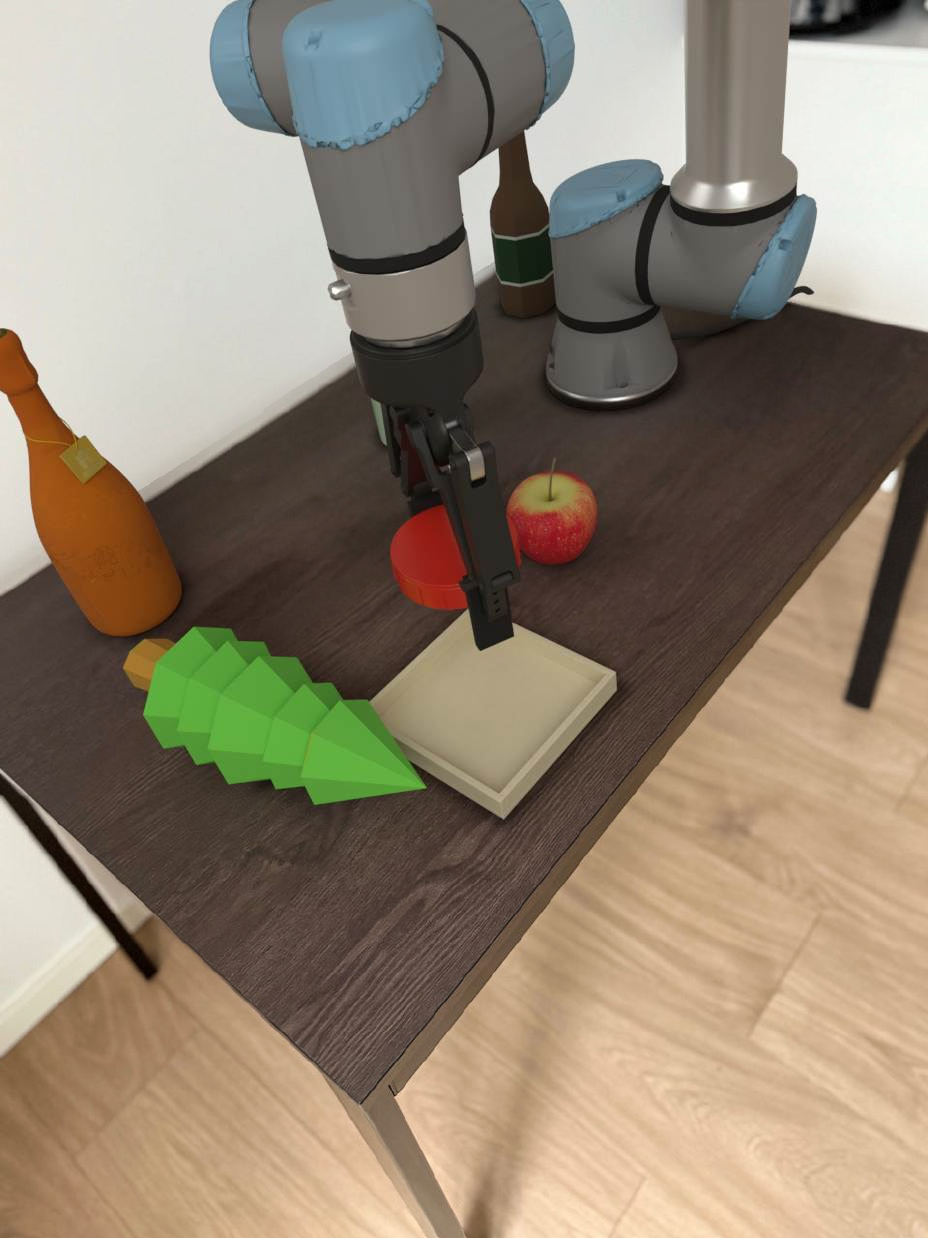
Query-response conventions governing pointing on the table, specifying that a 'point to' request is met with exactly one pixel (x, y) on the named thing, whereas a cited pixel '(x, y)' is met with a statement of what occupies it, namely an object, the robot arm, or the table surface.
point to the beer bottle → (521, 236)
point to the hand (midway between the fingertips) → (466, 600)
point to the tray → (492, 710)
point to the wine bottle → (88, 513)
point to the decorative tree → (265, 718)
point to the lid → (433, 560)
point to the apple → (553, 516)
